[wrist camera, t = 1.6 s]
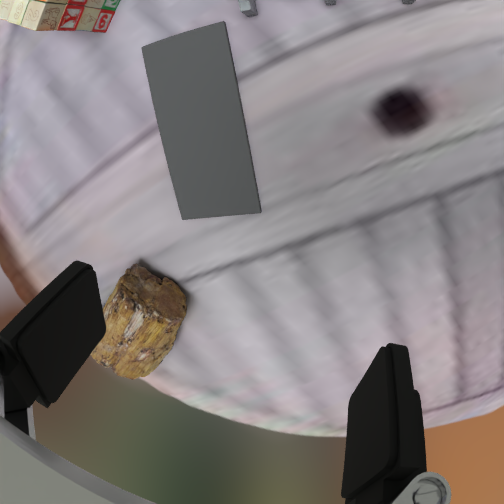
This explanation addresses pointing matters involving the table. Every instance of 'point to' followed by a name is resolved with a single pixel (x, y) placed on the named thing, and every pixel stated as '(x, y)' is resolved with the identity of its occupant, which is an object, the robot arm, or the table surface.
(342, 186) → the table surface
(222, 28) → the mat
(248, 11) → the rack
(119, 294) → the petrified wood
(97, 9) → the stack of blocks
